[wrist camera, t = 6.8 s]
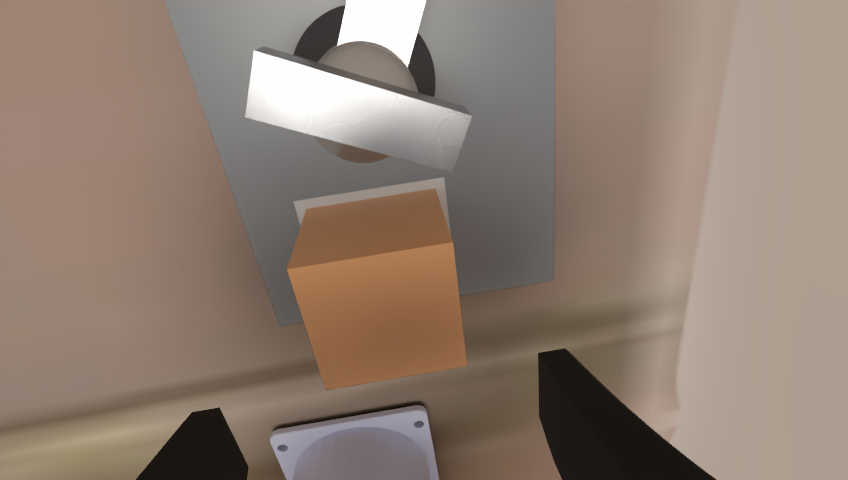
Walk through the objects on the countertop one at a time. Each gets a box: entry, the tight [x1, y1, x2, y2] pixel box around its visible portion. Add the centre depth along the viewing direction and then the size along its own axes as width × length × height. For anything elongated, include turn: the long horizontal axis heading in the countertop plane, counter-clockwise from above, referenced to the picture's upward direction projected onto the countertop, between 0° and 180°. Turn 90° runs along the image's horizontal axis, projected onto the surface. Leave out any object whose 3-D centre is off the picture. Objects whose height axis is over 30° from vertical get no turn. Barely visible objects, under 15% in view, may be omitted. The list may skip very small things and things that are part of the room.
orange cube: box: [287, 188, 467, 390], centre depth 15 cm, size 4×4×4 cm
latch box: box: [164, 0, 555, 326], centre depth 16 cm, size 14×11×2 cm
